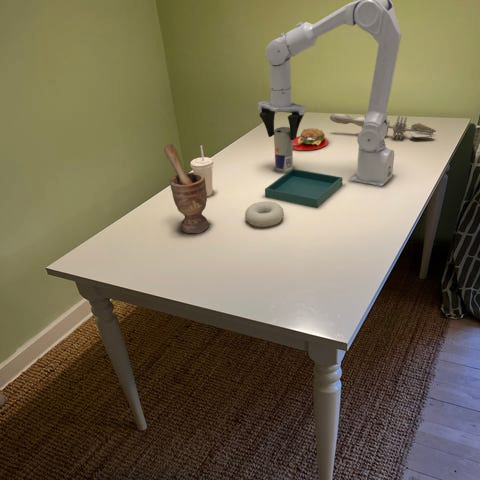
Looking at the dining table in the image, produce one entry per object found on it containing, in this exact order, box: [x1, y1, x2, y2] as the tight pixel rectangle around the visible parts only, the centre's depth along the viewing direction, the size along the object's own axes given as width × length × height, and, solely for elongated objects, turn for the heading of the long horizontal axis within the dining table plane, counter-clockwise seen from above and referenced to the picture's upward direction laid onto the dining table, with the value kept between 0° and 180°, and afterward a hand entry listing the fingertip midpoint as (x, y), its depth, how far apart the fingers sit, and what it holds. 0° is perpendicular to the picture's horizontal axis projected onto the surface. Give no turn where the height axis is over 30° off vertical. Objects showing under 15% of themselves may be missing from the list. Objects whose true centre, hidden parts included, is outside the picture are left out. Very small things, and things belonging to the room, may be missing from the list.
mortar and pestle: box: [163, 143, 210, 234], centre depth 119 cm, size 12×9×20 cm
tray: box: [264, 168, 344, 209], centre depth 134 cm, size 16×15×2 cm
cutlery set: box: [329, 113, 437, 140], centre depth 159 cm, size 8×35×8 cm
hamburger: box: [292, 127, 329, 151], centre depth 161 cm, size 14×14×6 cm
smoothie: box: [190, 145, 214, 197], centre depth 135 cm, size 6×6×14 cm
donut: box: [244, 200, 285, 228], centre depth 123 cm, size 10×4×10 cm
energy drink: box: [273, 126, 294, 174], centre depth 144 cm, size 5×5×12 cm
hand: (282, 137), depth 142 cm, fingers open, 7 cm apart
